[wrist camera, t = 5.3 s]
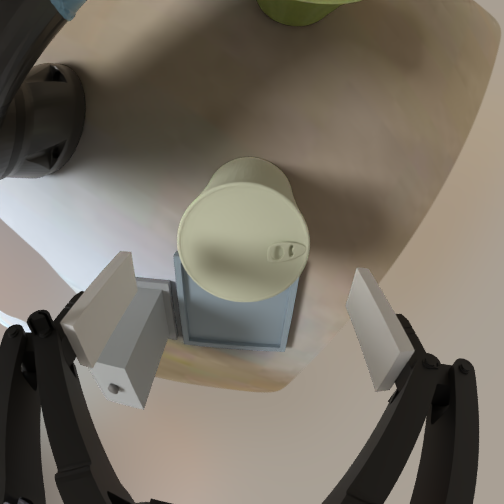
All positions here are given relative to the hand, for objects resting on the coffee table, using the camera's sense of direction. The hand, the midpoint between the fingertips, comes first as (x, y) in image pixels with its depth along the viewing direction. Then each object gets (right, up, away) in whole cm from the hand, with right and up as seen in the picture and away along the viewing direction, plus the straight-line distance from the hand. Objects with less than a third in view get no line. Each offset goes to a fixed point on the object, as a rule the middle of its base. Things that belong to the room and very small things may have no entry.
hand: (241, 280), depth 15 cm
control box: (-14, -6, +21) cm, 25 cm away
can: (0, +7, +13) cm, 15 cm away
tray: (-2, -5, +20) cm, 20 cm away
